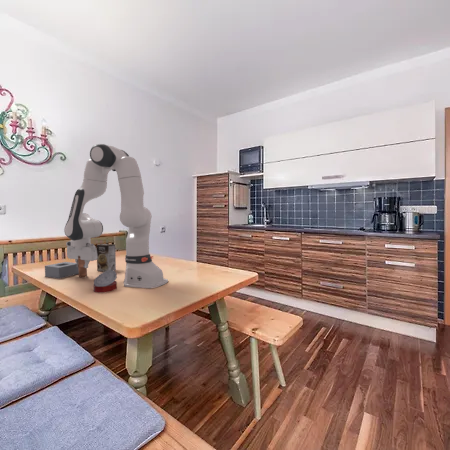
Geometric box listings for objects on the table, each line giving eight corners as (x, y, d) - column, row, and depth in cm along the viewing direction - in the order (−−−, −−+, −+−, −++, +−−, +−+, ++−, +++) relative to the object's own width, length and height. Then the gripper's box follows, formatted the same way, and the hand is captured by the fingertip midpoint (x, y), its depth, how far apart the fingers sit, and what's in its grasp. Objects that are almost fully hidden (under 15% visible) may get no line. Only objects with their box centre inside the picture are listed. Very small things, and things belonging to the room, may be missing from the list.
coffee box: (96, 270, 154) (95, 244, 153) (104, 268, 160) (104, 243, 159) (108, 272, 151) (107, 245, 150) (116, 269, 157) (115, 243, 156)
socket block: (79, 273, 147) (79, 263, 147) (59, 278, 136) (58, 267, 136) (66, 271, 152) (65, 261, 152) (45, 276, 141) (44, 265, 141)
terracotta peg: (88, 276, 142) (88, 254, 141) (82, 277, 138) (81, 256, 137) (83, 275, 143) (83, 254, 143) (77, 277, 140) (76, 255, 139)
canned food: (117, 298, 119) (123, 281, 116) (94, 301, 112) (99, 283, 109) (110, 282, 127) (115, 266, 123) (88, 284, 120) (93, 267, 116)
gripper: (100, 243, 138) (100, 267, 139) (74, 241, 146) (75, 264, 147) (89, 244, 132) (90, 270, 133) (64, 242, 141) (65, 267, 141)
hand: (82, 267), depth 140 cm, fingers closed on terracotta peg, 4 cm apart
